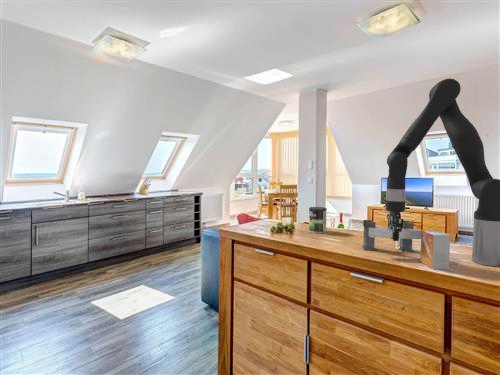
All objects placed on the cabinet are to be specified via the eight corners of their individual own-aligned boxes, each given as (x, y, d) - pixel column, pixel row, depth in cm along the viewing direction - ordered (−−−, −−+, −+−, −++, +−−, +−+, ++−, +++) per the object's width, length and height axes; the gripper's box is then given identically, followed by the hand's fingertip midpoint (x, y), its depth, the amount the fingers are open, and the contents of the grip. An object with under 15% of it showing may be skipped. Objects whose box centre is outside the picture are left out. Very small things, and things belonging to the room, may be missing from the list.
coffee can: (315, 233, 169) (316, 209, 168) (305, 230, 178) (305, 207, 177) (330, 232, 173) (330, 208, 172) (319, 229, 182) (319, 206, 181)
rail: (417, 237, 126) (418, 229, 125) (421, 239, 122) (421, 230, 122) (368, 235, 129) (368, 227, 129) (370, 237, 125) (370, 229, 125)
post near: (408, 248, 137) (409, 220, 136) (413, 252, 131) (414, 223, 130) (397, 248, 138) (398, 220, 137) (401, 251, 132) (402, 222, 131)
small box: (419, 262, 117) (420, 230, 116) (435, 262, 117) (437, 230, 116) (432, 269, 109) (433, 234, 108) (449, 269, 109) (450, 234, 108)
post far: (372, 247, 140) (373, 220, 139) (376, 250, 134) (376, 222, 133) (361, 246, 140) (362, 219, 140) (364, 250, 135) (365, 222, 134)
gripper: (411, 201, 117) (409, 244, 118) (399, 198, 131) (397, 236, 132) (391, 201, 118) (389, 243, 119) (381, 197, 132) (380, 235, 133)
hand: (394, 239), depth 126 cm, fingers closed on rail, 3 cm apart
